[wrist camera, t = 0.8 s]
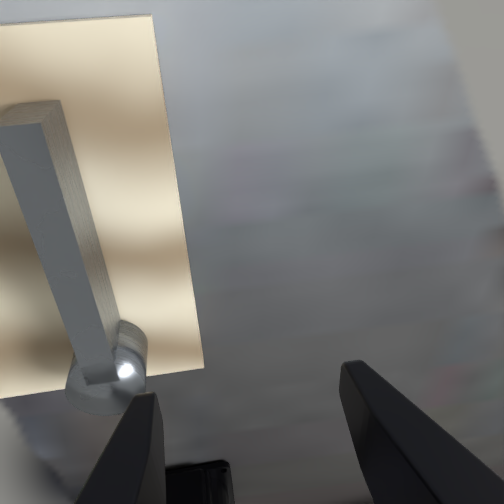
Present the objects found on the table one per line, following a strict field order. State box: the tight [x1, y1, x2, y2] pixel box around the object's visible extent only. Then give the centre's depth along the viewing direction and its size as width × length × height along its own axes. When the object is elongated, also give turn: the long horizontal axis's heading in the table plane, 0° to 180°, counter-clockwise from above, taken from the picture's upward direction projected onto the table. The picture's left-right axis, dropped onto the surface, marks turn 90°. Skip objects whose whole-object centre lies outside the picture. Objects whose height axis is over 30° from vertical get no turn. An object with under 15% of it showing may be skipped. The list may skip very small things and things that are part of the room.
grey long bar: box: [0, 100, 148, 416], centre depth 19 cm, size 14×4×3 cm, turn 3°
